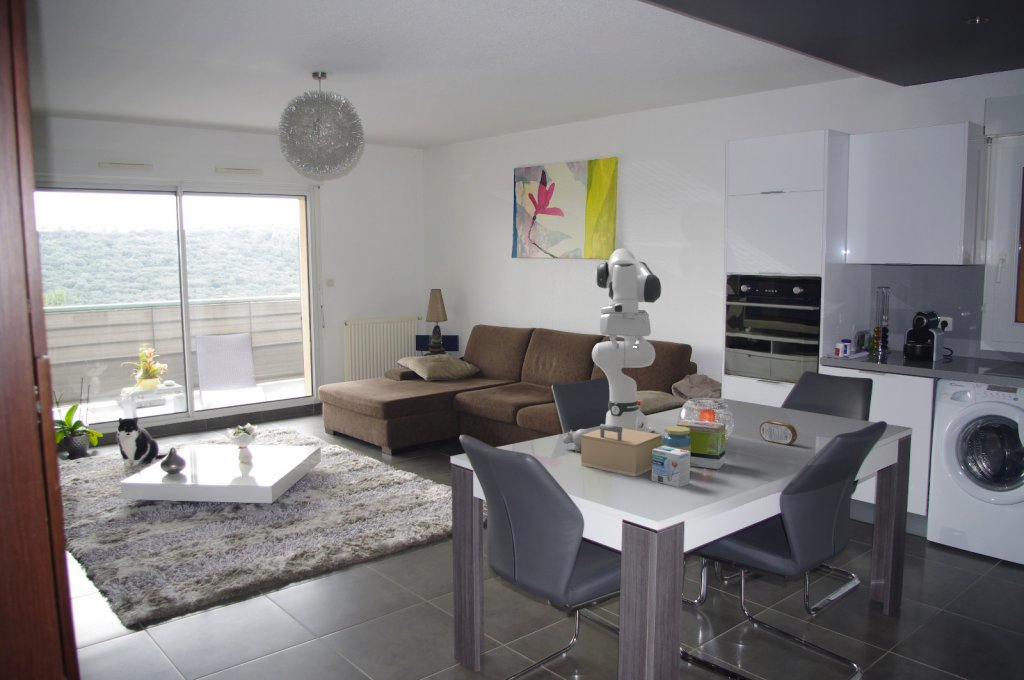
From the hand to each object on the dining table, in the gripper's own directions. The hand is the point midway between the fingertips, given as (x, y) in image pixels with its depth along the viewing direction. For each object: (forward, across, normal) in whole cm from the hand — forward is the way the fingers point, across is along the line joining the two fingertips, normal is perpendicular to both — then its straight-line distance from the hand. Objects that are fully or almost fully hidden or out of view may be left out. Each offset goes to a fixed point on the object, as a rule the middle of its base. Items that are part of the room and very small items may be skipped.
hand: (626, 348), depth 254 cm
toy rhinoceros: (+38, -2, -33) cm, 50 cm away
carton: (+41, -3, -8) cm, 42 cm away
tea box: (+41, -28, +6) cm, 50 cm away
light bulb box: (+44, -4, +16) cm, 47 cm away
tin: (+36, -76, +1) cm, 84 cm away
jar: (+42, -14, +8) cm, 46 cm away
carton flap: (+31, -2, -6) cm, 32 cm away
